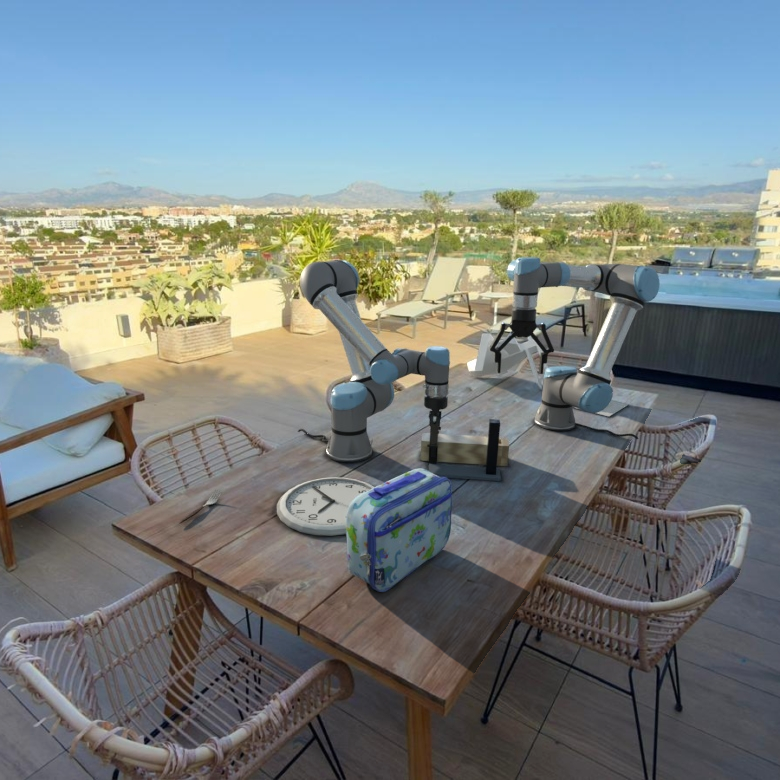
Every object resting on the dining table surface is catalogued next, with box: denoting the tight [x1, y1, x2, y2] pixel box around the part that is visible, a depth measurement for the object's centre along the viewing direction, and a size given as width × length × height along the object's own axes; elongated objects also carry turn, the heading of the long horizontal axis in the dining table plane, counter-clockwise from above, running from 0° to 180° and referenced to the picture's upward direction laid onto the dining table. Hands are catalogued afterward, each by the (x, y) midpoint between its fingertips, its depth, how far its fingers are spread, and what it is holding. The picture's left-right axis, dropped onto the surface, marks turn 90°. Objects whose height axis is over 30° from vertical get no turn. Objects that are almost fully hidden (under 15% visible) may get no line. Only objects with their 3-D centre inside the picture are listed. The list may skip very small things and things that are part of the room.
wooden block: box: [420, 432, 510, 467], centre depth 172 cm, size 28×7×7 cm, turn 83°
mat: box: [428, 463, 502, 482], centre depth 162 cm, size 22×7×1 cm, turn 83°
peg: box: [485, 418, 501, 475], centre depth 159 cm, size 3×3×17 cm
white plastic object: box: [466, 332, 549, 390], centre depth 259 cm, size 37×45×31 cm
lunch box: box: [345, 467, 453, 593], centre depth 115 cm, size 26×11×21 cm, turn 135°
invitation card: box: [573, 400, 629, 418], centre depth 226 cm, size 21×1×15 cm
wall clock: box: [276, 476, 376, 537], centre depth 142 cm, size 30×2×30 cm
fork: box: [178, 489, 223, 525], centre depth 139 cm, size 3×16×2 cm, turn 160°
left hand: (433, 456), depth 174 cm, fingers open, 12 cm apart
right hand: (519, 372), depth 172 cm, fingers open, 13 cm apart
